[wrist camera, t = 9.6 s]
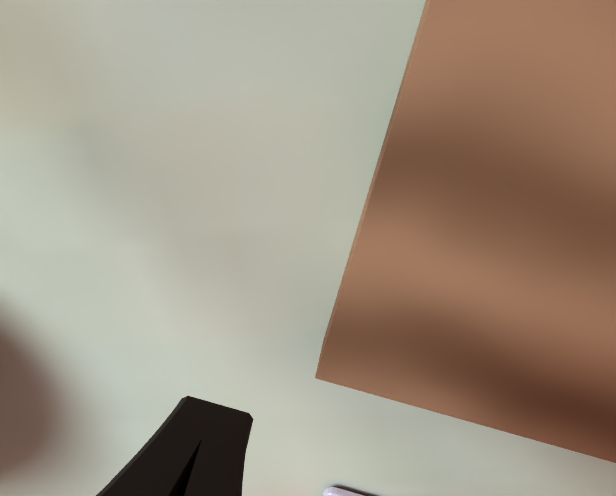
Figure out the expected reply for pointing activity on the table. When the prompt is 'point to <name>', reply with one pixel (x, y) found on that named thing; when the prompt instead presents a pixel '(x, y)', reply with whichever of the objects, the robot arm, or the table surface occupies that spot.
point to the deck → (493, 227)
